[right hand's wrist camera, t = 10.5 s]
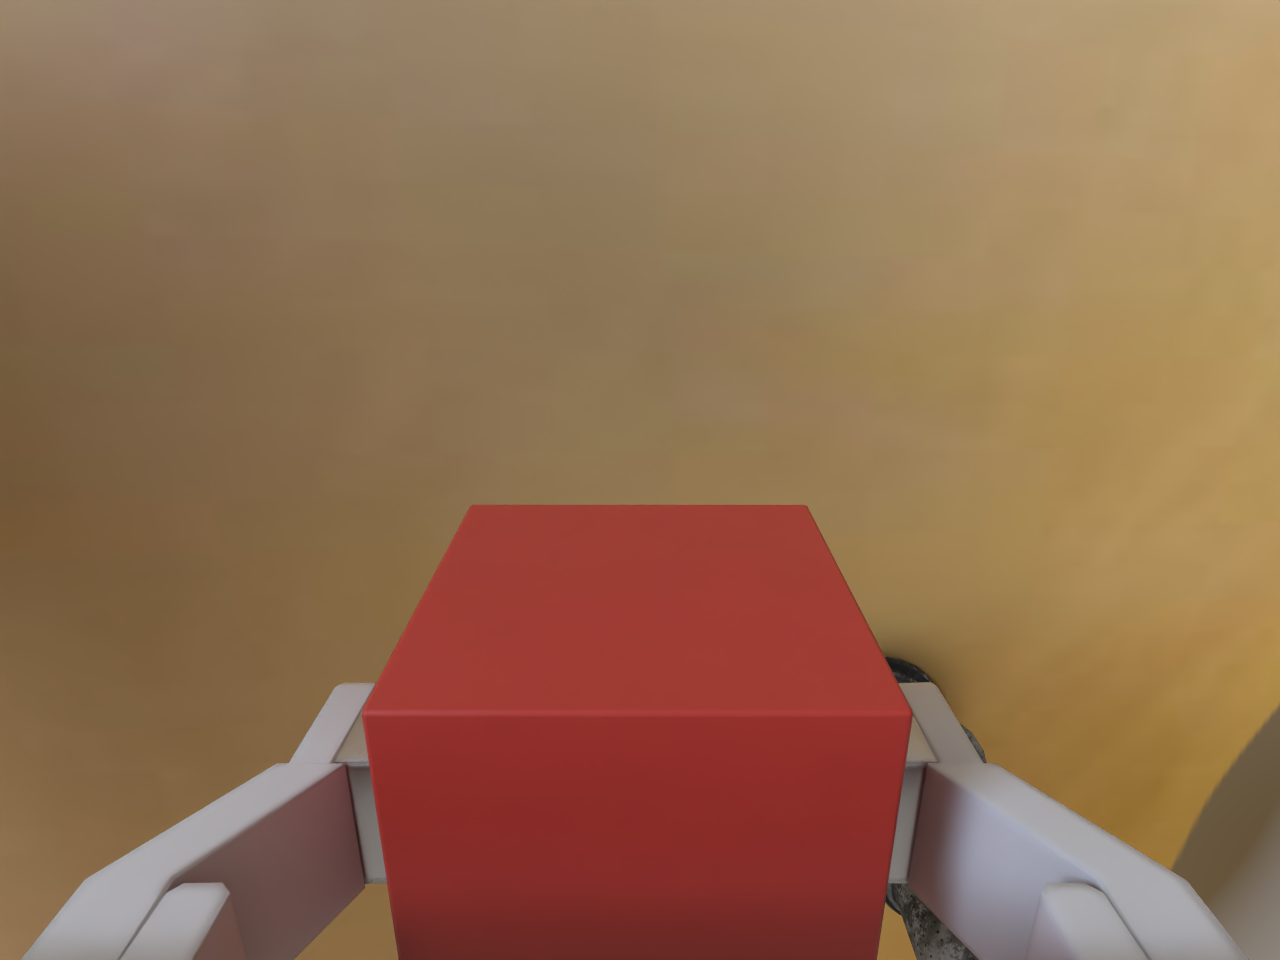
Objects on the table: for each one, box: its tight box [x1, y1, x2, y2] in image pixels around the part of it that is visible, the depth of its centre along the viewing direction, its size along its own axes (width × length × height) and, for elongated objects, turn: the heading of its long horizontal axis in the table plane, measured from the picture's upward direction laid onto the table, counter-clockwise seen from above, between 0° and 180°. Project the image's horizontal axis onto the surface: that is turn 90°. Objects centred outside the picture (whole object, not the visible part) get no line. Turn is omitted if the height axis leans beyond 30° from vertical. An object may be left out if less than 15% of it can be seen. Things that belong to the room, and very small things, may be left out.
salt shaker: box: [885, 657, 986, 960], centre depth 24 cm, size 6×6×12 cm
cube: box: [362, 505, 913, 960], centre depth 10 cm, size 5×5×5 cm
